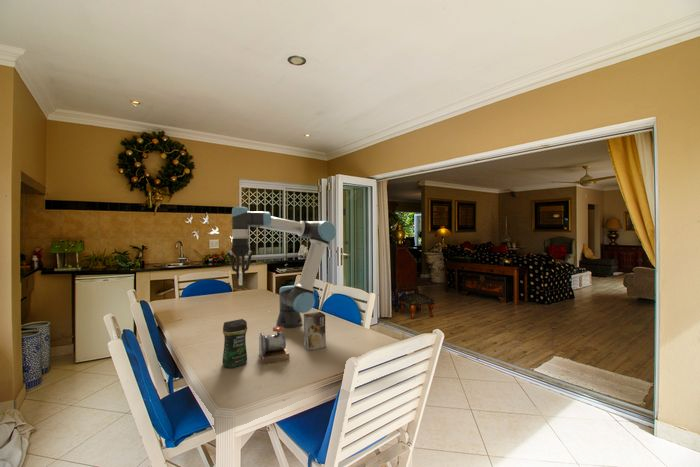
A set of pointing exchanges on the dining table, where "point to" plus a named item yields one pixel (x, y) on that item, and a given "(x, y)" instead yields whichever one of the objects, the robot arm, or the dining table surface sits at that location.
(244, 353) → the coffee jar
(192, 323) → the dining table surface
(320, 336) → the coffee box
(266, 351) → the valve stub
